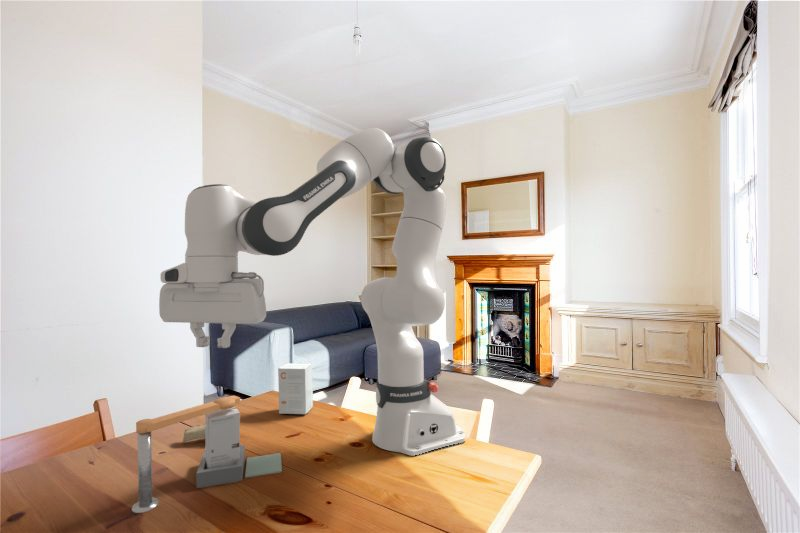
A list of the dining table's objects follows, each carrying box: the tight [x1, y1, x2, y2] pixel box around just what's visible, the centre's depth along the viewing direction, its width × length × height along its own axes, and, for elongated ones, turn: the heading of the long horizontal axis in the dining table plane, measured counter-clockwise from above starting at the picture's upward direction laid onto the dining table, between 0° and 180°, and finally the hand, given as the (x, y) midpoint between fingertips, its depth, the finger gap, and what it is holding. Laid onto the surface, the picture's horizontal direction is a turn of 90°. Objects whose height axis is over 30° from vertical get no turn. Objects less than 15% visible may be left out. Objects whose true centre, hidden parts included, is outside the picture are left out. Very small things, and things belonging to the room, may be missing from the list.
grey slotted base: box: [195, 444, 246, 489], centre depth 81 cm, size 8×10×3 cm
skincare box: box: [204, 406, 241, 469], centre depth 81 cm, size 6×4×12 cm
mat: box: [244, 452, 283, 479], centre depth 84 cm, size 7×8×1 cm
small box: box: [277, 362, 314, 415], centre depth 116 cm, size 8×6×13 cm
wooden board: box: [135, 395, 241, 435], centre depth 76 cm, size 19×4×2 cm, turn 143°
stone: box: [182, 423, 206, 443], centre depth 96 cm, size 11×6×5 cm, turn 117°
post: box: [131, 431, 160, 514], centre depth 70 cm, size 4×4×13 cm
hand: (213, 347), depth 74 cm, fingers open, 3 cm apart
